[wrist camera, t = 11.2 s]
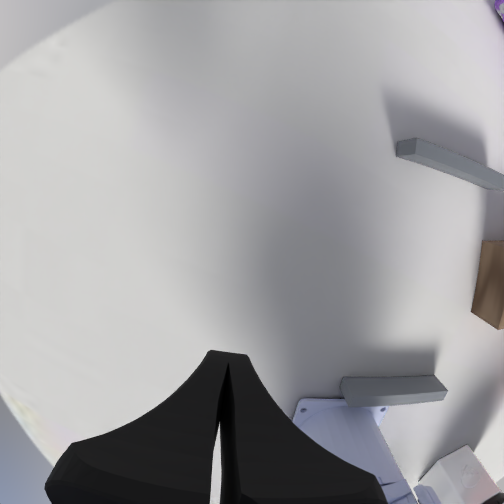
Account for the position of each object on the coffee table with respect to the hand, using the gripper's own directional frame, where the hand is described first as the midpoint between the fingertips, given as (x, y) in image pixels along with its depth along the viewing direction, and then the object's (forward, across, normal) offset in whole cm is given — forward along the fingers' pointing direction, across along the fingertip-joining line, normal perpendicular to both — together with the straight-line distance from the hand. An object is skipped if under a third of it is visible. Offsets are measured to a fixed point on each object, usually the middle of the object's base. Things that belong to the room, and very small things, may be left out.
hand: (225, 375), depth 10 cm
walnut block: (+10, -22, -4) cm, 24 cm away
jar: (+10, -30, +22) cm, 38 cm away
